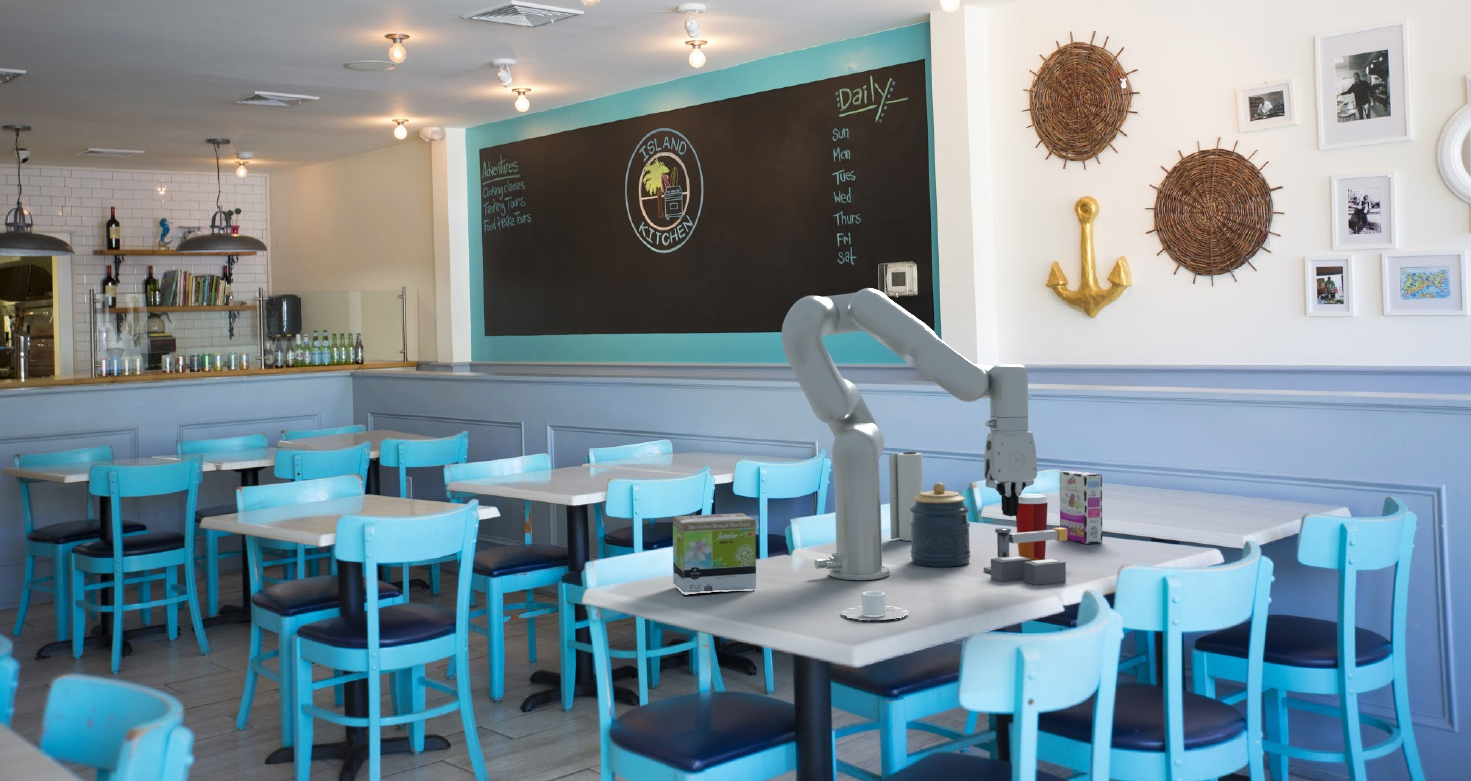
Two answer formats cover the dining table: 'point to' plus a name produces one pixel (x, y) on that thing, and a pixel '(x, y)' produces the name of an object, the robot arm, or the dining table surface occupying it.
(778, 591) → the dining table surface
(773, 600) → the dining table surface
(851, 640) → the dining table surface
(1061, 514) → the candy bar box
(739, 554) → the tea box
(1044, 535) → the swing arm
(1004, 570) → the block
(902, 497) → the paper towel roll
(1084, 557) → the dining table surface
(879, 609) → the candle holder
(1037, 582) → the block
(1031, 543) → the paper cup
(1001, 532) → the pivot post
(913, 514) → the canister
